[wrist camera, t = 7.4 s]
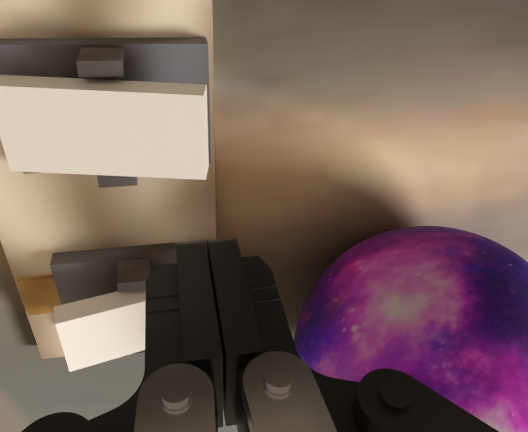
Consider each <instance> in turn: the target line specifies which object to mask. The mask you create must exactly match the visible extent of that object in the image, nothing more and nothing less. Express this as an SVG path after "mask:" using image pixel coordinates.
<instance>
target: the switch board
mask: <svg viewBox="0 0 528 432" xmlns="http://www.w3.org/2000/svg"><path fill="white" fill-rule="evenodd" d="M0 75H18V76H39V77H60V78H81V79H102V80H123V81H144V82H165V83H186V84H207V113H208V151H209V168H208V172H207V177H206V180H197V179H174V178H152V177H129V176H107V175H84V174H61V173H39V172H16V171H10V168H9V165H8V162H7V158H6V155H5V152H4V149H3V145H2V142H1V139H0V241H1V244H2V247H3V249H4V252H5V255H6V258H7V261H8V264H9V266H10V269H11V272H12V275H13V278H14V281H15V283H16V286H17V289H18V292H19V295H20V298H21V300H22V303H23V306H24V309H25V312H26V315H27V317H28V320H29V323H30V326H31V329H32V332H33V334H34V337H35V340H36V343H37V346H38V349H39V351H40V354H41V357H42V359H47V358H55V357H63V356H65V355H64V352H63V349H62V345H61V342H60V339H59V336H58V332H57V329H56V326H55V319H54V307H55V306H59V305H63V304H67V303H72V302H76V301H80V300H84V299H88V298H92V297H96V296H100V295H104V294H109V293H113V292H117V291H118V292H127V291H137V290H146V280H147V278H148V276H149V274H150V273H151V271H152V269H153V268H154V266H155V265H164V264H175V263H177V258H176V242H189V241H201V240H205V244H206V250H207V240H212V239H216V190H215V132H214V74H213V17H212V0H0ZM142 352H145V350H143V351H140V352H136V353H142ZM133 354H134V353H133Z"/></svg>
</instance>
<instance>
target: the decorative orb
mask: <svg viewBox="0 0 528 432" xmlns="http://www.w3.org/2000/svg"><path fill="white" fill-rule="evenodd" d="M294 344H295V347H296V350H297V352H298V354H299V356H300V358H301V359H302V360H303V361H304V362H305V363H306V364H307V365H308V366H309V367H310V368H311V369H313V370H314V371H316V372H318V373H320V374H322V375H325V376H328V377H332V378H337V379H344V380H350V381H356V382H360V381H361V379H362V378H363V377H364V376H365V375H366V374H367V373H369V372H370V371H373V370H375V369H381V368H389V369H395V370H399V371H402V372H404V373H406V374H408V375H410V376H412V377H413V378H415V379H416V380H418V381H420V382H421V383H423V384H424V385H426V386H427V387H429V388H431V389H432V390H434V391H435V392H437V393H439V394H440V395H442V396H443V397H445V398H446V399H448V400H450V401H451V402H453V403H454V404H456V405H458V406H459V407H461V408H462V409H464V410H465V411H467V412H469V413H470V414H472V415H473V416H475V417H477V418H478V419H480V420H481V421H483V422H484V423H486V424H488V425H489V426H491V427H492V428H494V429H496V430H497V431H499V432H528V262H527V261H526V260H524V259H523V258H521V257H520V256H519V255H517V254H516V253H514V252H513V251H511V250H509V249H508V248H506V247H504V246H502V245H500V244H498V243H496V242H494V241H492V240H490V239H488V238H485V237H483V236H480V235H477V234H474V233H471V232H467V231H463V230H459V229H454V228H447V227H439V226H415V227H405V228H399V229H395V230H391V231H387V232H383V233H381V234H378V235H375V236H372V237H370V238H368V239H366V240H364V241H362V242H360V243H358V244H356V245H355V246H353V247H352V248H350V249H348V250H347V251H346V252H344V253H343V254H342V255H340V256H339V257H338V258H337V259H336V260H335V261H334V262H333V263H332V264H331V265H330V266H329V267H328V268H327V269H326V270H325V271H324V272H323V273H322V275H321V276H320V277H319V278H318V280H317V281H316V283H315V284H314V286H313V287H312V289H311V291H310V292H309V294H308V296H307V298H306V300H305V302H304V305H303V307H302V310H301V313H300V316H299V319H298V322H297V326H296V331H295V337H294Z"/></svg>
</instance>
